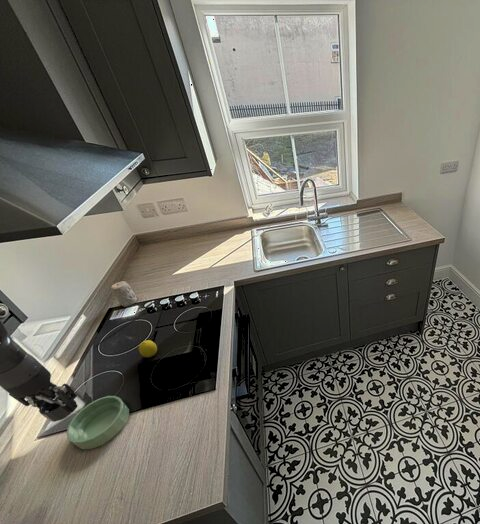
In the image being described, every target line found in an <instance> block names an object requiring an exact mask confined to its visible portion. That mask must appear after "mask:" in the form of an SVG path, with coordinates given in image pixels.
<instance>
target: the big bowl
mask: <svg viewBox="0 0 480 524" xmlns="http://www.w3.org/2000/svg"><path fill="white" fill-rule="evenodd" d="M129 417H130V408H129V407H128V405H127V404H126V403H125V402H124V400H123V399H122V398H120V397H118V396H116V395H106V396H104V397H99V398H97V399H96V400H93V401H91V402H90V403H88V404H87V405H85V406H84V407H83V408H81V409H80V410H79V411H78V412H77V414H75V415H74V416H73V418H72V420H71V421H70V423H69V424H68V426H67V430H66V437H67V439H68V441H69V442H71V443H72V444H73V445H74V446H76V447H77V448H79V449H81V450H92V449H96V448H98V447H100V446H103V445H104V444H106V443H108V442H109V441H111V440H112V439H113V438H115V436H117V435H118V434H119V433H120V432H121V431H122V429H123V428H124V427H125V426H126V424H127V422H128V420H129Z"/></svg>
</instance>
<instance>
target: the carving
mask: <svg viewBox="0 0 480 524" xmlns="http://www.w3.org/2000/svg"><path fill="white" fill-rule="evenodd" d="M110 289H111V291H112V293H113V294H114V296H115V298H116V300H117V302H118V303H119V304H120V305H121V306H122V307H124V308H126V307H130V306H132V305H134V304H135V303H136V302H137V296H136V294H135V293H134V291H133V289H132V287H131V286H130V284H129V283H128V282H127V281H125V280H123V281H122V280H121V281H118V282H116V283H114V284H112V285H111V287H110Z"/></svg>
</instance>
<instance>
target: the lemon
mask: <svg viewBox="0 0 480 524" xmlns="http://www.w3.org/2000/svg"><path fill="white" fill-rule="evenodd" d="M138 351H139V354H140V355H141V356H142V357H144V358H151V357H153V356H155V355H156V354H157V352H158V346H157V344H156V343H155V342H154V341H153V340H150V339H148V340H144V341H142V342H140V344H139V345H138Z"/></svg>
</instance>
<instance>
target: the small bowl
mask: <svg viewBox="0 0 480 524" xmlns="http://www.w3.org/2000/svg"><path fill="white" fill-rule="evenodd" d="M56 395H57V394H55V395H54V396H53V397H52V398H51V399H54V398H55V397H56ZM59 400H60V401H62V399H61V398H59ZM73 401H74V402H75V403H76V404H77V401H76V399H74V400H73ZM38 412H39V414H40V415H41V416H43V417H44V418H45V419H46V420H48V421H49V422H53V423H54V422H60V421H62V420H64V419H66V418H68V417H69V416H70V415H71V414H72V413H69V412H67V411H66V410H65V409H64V408H63V407H62V406H61V405H59V404H56V403H54V404H51V403H49V402H47V401H45V402H44V403H43V404H42V405H41V406H40V409H39V408H38Z"/></svg>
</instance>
